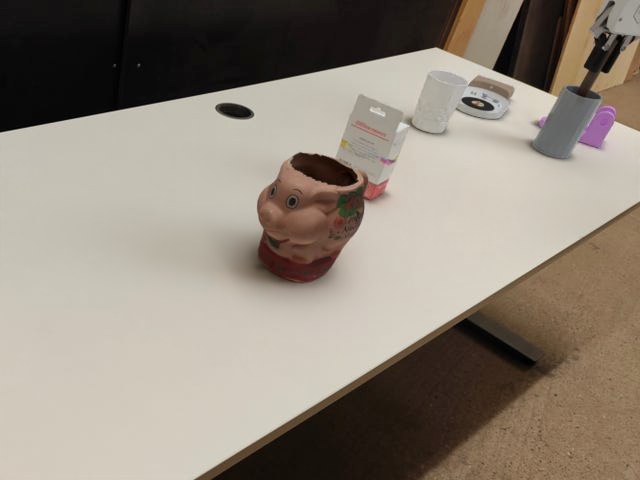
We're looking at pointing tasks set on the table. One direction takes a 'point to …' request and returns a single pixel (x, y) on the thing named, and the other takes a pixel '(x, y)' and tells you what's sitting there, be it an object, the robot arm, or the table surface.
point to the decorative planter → (309, 215)
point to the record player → (486, 98)
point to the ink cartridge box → (373, 142)
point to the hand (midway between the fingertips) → (595, 69)
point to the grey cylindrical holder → (566, 122)
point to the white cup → (438, 100)
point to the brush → (593, 75)
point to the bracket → (596, 126)
